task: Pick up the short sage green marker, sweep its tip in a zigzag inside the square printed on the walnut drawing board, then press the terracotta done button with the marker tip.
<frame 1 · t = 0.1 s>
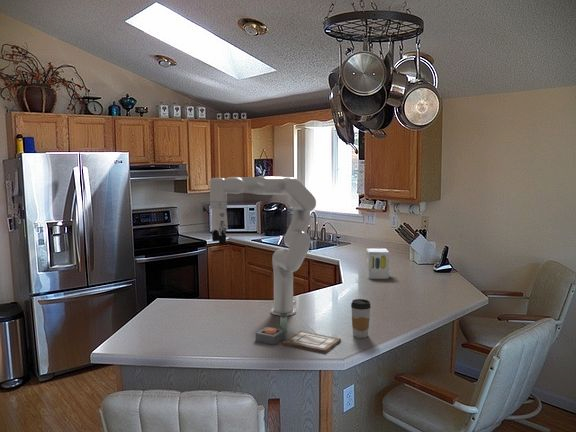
hand: (219, 242, 225), 37 cm above the counter, tool pointing down, fingers open, 9 cm apart
done button: (270, 331, 206), point 3 cm above the counter, slide at 0.0 cm
coffee cup: (360, 336, 211), on the counter
button housing: (270, 339, 207), on the counter
drawing board: (312, 342, 203), on the counter
supplement box: (376, 276, 321), on the counter
sage green marker: (283, 331, 216), on the counter
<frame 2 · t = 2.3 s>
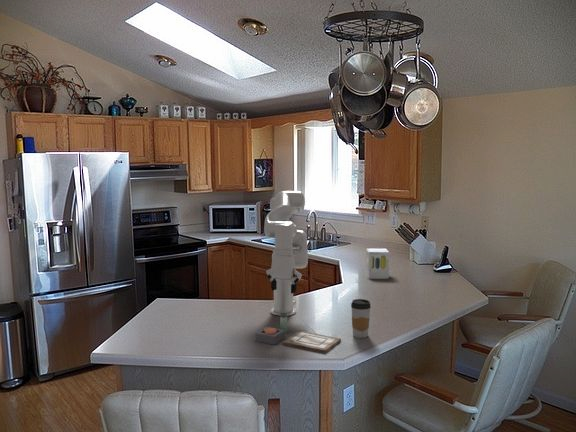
hand: (283, 291, 214), 18 cm above the counter, tool pointing down, fingers open, 9 cm apart
nothing on the counter moved.
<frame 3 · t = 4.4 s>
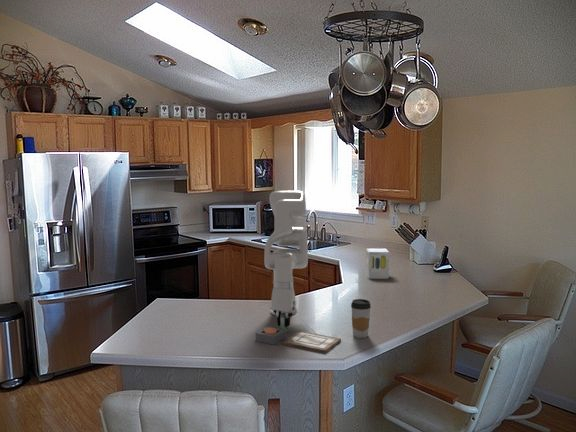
hand: (283, 325, 216), 3 cm above the counter, tool pointing down, fingers closed on sage green marker, 3 cm apart
sage green marker: (283, 331, 216), on the counter, touching gripper
everything else where it was.
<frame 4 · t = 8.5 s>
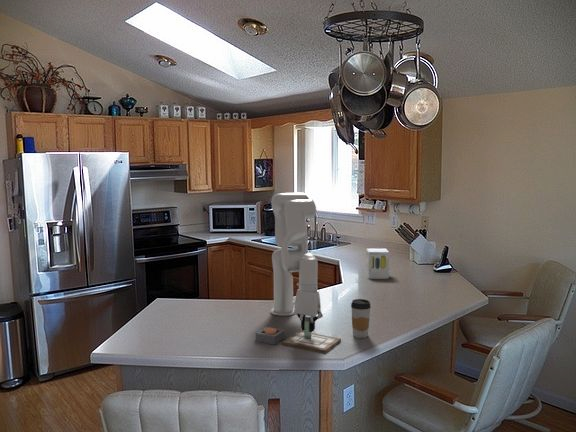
hand: (307, 330, 205), 5 cm above the counter, tool pointing down, fingers closed on sage green marker, 3 cm apart
sage green marker: (307, 336, 205), point 2 cm above the counter, touching gripper
everything else where it was.
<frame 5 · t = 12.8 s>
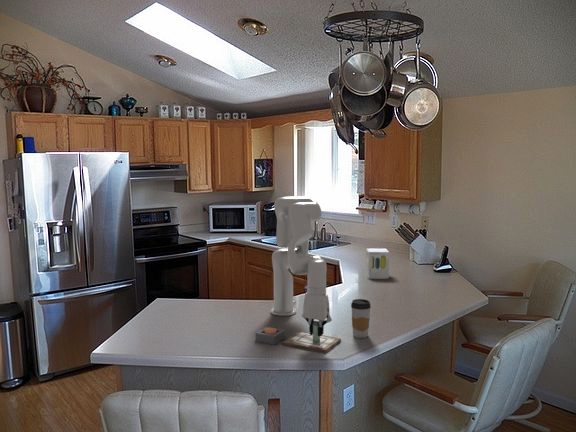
hand: (316, 334, 200), 5 cm above the counter, tool pointing down, fingers closed on sage green marker, 3 cm apart
sage green marker: (316, 341, 200), point 2 cm above the counter, touching gripper
everything else where it was.
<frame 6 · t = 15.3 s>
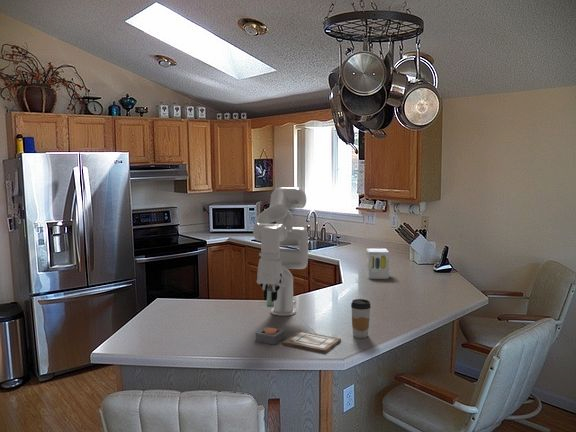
hand: (270, 299, 205), 17 cm above the counter, tool pointing down, fingers closed on sage green marker, 3 cm apart
sage green marker: (270, 306, 205), point 14 cm above the counter, touching gripper
everything else where it was.
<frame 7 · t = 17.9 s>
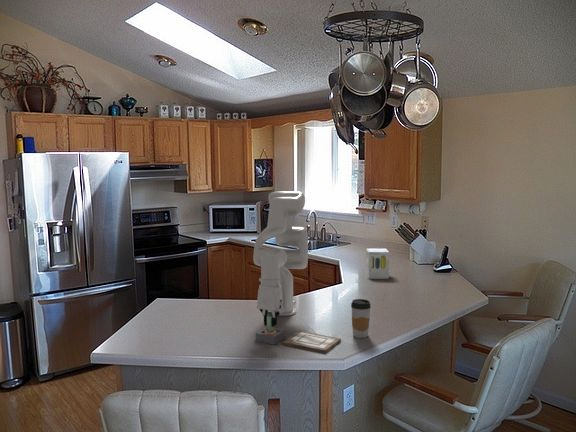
hand: (270, 324, 206), 6 cm above the counter, tool pointing down, fingers closed on sage green marker, 3 cm apart
done button: (270, 333, 206), point 3 cm above the counter, slide at 0.7 cm
sage green marker: (270, 331, 206), point 4 cm above the counter, touching gripper
everything else where it was.
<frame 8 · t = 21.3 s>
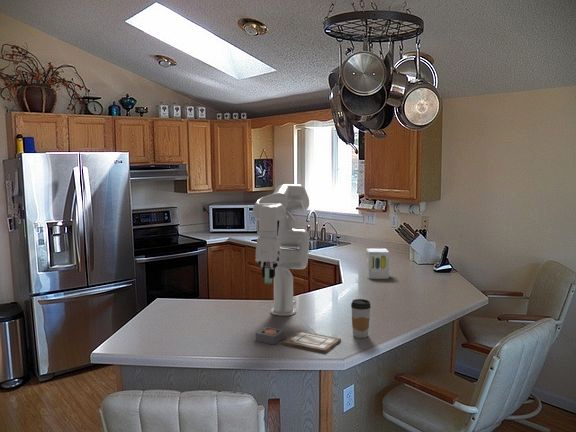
hand: (268, 276, 210), 25 cm above the counter, tool pointing down, fingers closed on sage green marker, 2 cm apart
sage green marker: (268, 283, 210), point 22 cm above the counter, touching gripper
everything else where it was.
at the end: done button slide at 0.7 cm; the gripper is holding sage green marker; sage green marker tilted 1° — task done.
